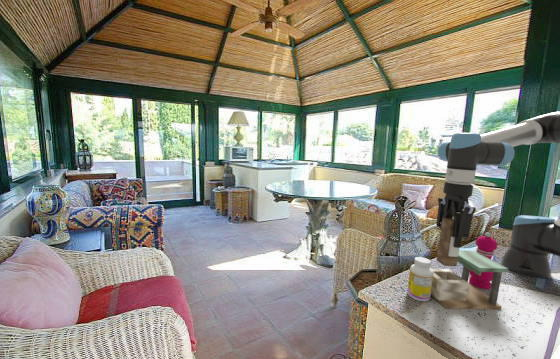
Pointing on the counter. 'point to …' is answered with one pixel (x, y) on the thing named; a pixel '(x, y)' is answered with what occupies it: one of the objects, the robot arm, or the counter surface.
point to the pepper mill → (486, 249)
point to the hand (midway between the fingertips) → (447, 252)
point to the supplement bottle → (420, 279)
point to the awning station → (459, 291)
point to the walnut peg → (446, 243)
